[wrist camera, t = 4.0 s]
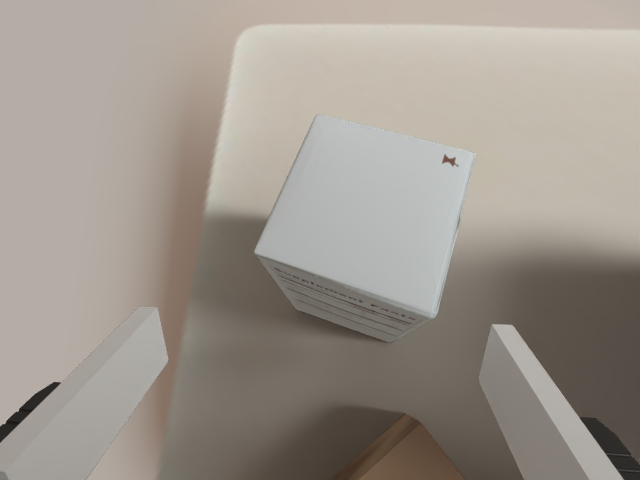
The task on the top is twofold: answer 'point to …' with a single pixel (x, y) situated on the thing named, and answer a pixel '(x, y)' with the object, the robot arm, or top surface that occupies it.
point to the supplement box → (366, 226)
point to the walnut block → (402, 456)
